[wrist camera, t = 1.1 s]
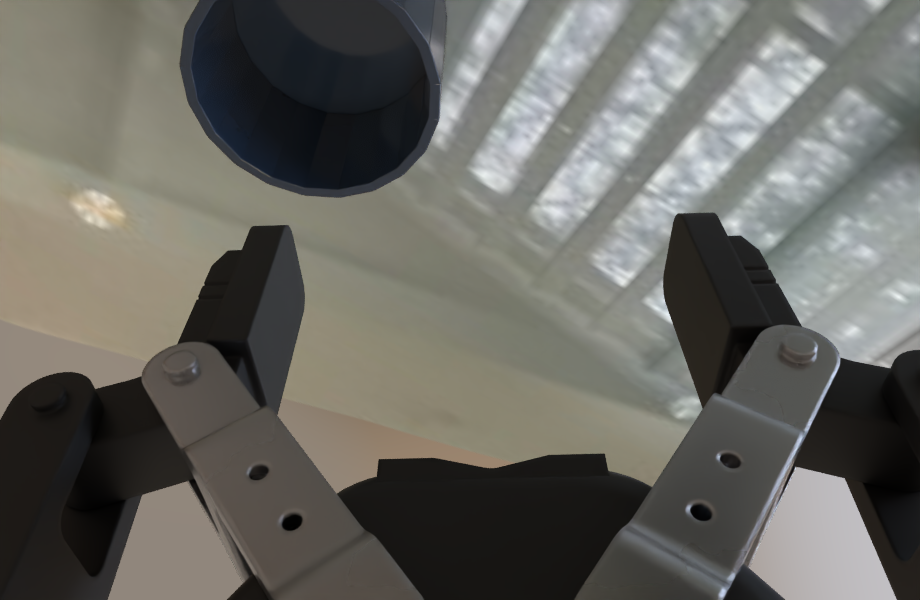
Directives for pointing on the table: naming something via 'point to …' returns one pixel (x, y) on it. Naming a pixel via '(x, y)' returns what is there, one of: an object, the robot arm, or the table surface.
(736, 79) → the table surface
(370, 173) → the dark blue round container
